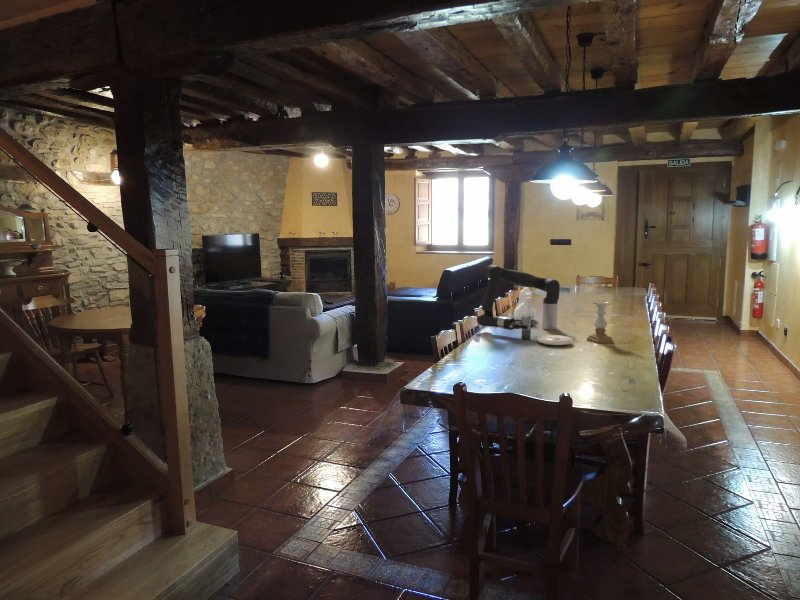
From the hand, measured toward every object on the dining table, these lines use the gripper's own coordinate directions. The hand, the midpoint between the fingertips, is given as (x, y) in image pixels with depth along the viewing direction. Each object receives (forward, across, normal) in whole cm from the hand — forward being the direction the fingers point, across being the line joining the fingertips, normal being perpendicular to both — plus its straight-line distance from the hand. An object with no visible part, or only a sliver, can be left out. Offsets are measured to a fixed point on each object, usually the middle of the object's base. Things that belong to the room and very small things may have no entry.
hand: (529, 326), depth 340 cm
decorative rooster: (-35, +51, +8) cm, 62 cm away
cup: (-3, 0, +8) cm, 8 cm away
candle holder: (+34, +24, +8) cm, 42 cm away
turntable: (+16, 0, +6) cm, 18 cm away
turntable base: (+16, 0, +8) cm, 18 cm away
